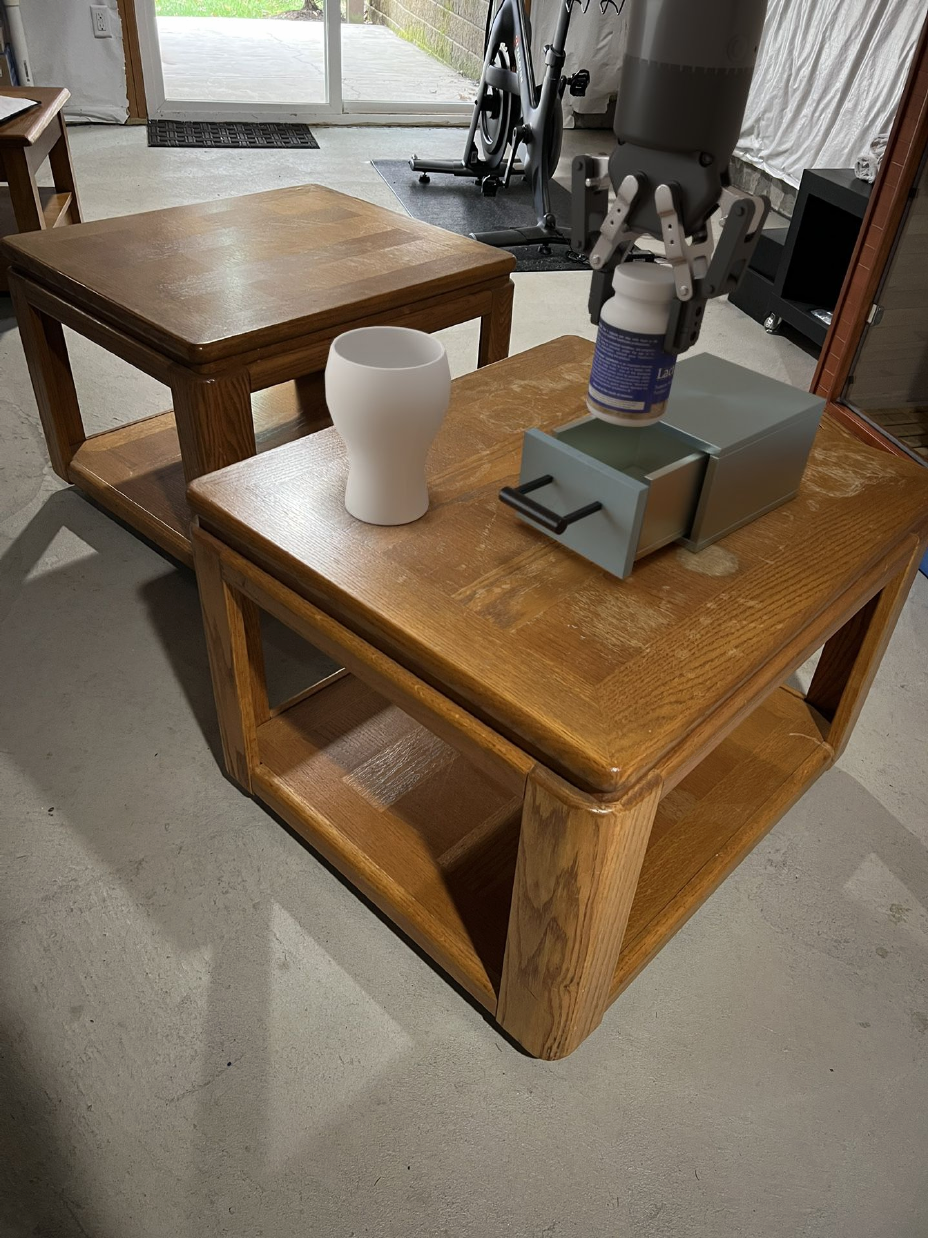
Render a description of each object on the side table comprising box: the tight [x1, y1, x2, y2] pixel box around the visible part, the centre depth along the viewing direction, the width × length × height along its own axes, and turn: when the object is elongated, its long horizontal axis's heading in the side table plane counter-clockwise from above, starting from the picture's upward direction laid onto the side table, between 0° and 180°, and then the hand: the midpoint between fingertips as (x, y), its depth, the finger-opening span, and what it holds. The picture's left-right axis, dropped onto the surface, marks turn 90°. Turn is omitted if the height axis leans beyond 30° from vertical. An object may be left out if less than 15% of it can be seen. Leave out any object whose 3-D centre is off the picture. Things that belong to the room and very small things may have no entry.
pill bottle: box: [586, 261, 679, 427], centre depth 64 cm, size 6×6×10 cm
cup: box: [324, 325, 452, 526], centre depth 82 cm, size 11×11×15 cm
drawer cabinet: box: [649, 351, 828, 554], centre depth 88 cm, size 17×14×10 cm
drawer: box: [498, 413, 711, 580], centre depth 81 cm, size 21×13×8 cm, turn 132°
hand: (638, 336), depth 64 cm, fingers closed on pill bottle, 5 cm apart
